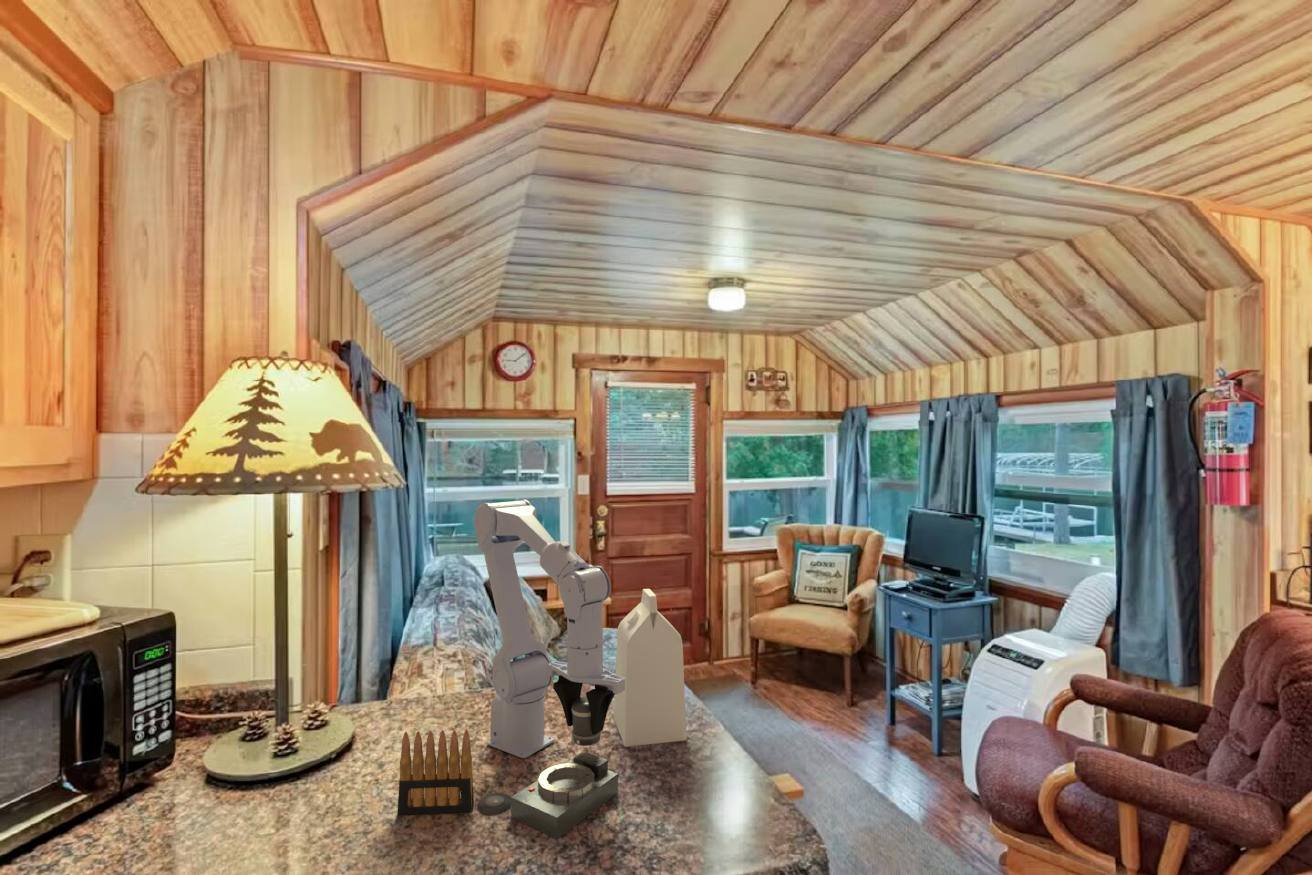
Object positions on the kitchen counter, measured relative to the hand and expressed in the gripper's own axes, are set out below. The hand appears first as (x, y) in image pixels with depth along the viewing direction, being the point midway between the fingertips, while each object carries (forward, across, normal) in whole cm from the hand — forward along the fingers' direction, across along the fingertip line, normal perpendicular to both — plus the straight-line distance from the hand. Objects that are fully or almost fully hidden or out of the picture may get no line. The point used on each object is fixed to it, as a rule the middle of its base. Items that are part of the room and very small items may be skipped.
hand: (585, 727), depth 105 cm
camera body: (+9, -2, +7) cm, 11 cm away
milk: (+9, +2, -21) cm, 23 cm away
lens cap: (+9, +7, +13) cm, 17 cm away
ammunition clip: (+9, +13, +18) cm, 25 cm away
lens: (+2, 0, 0) cm, 2 cm away
